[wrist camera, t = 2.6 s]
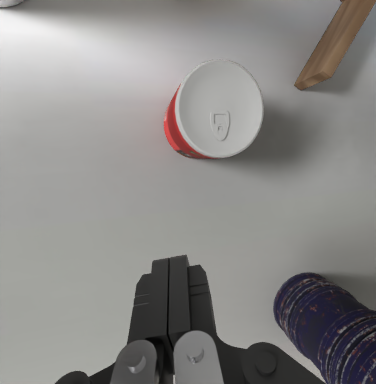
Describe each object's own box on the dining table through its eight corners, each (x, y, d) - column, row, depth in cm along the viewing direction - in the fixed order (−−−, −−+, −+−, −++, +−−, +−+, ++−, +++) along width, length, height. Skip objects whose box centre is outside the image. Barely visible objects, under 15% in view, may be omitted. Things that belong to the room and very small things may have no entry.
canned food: (174, 166, 33) (193, 170, 22) (153, 102, 31) (162, 72, 20) (231, 147, 34) (275, 142, 23) (213, 84, 32) (251, 47, 21)
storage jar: (294, 348, 39) (388, 460, 25) (259, 302, 37) (338, 394, 22) (344, 305, 40) (463, 389, 25) (313, 258, 38) (423, 319, 23)
